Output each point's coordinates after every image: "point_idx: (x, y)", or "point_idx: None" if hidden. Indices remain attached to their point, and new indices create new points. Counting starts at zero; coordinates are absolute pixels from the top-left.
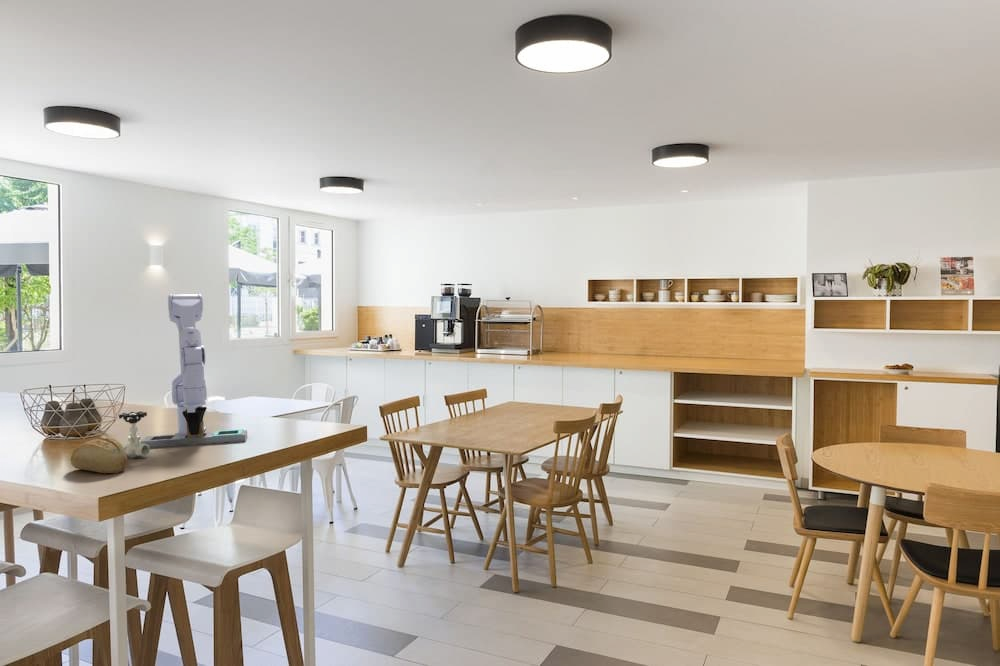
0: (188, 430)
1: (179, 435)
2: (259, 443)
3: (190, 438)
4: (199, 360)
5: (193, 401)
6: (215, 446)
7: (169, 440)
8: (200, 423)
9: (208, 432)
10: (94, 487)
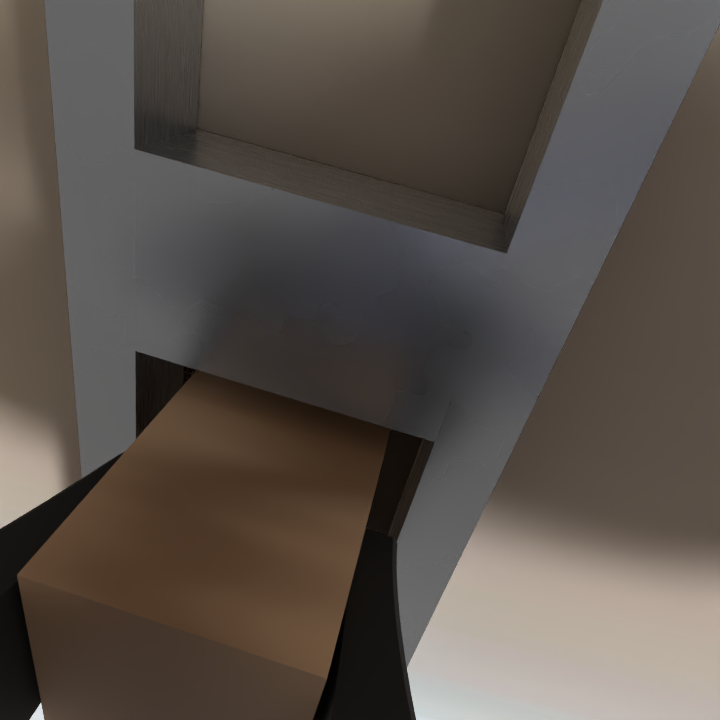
0: (113, 485)
1: (420, 330)
2: (38, 707)
3: (79, 411)
4: None
5: None
6: (3, 514)
7: (59, 109)
8: (50, 708)
9: (410, 647)
10: None
